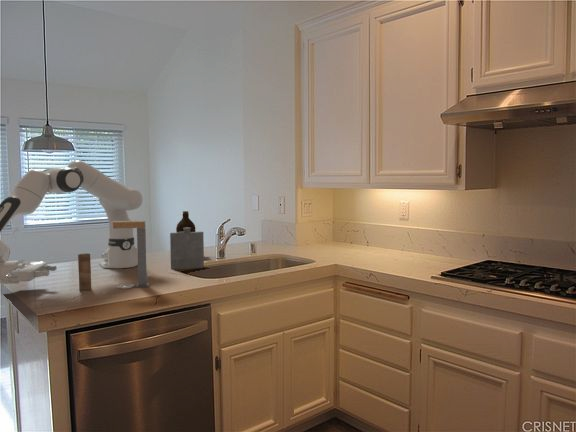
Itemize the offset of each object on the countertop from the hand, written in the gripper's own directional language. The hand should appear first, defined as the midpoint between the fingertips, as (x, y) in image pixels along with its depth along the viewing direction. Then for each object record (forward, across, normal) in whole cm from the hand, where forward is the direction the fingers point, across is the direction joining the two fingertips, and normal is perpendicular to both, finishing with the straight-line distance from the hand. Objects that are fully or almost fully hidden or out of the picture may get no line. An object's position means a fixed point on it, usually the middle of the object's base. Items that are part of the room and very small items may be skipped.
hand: (52, 270), depth 182 cm
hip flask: (+51, +36, +8) cm, 63 cm away
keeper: (+29, +2, +8) cm, 31 cm away
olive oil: (+49, +75, +8) cm, 90 cm away
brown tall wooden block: (+12, 0, +8) cm, 14 cm away
